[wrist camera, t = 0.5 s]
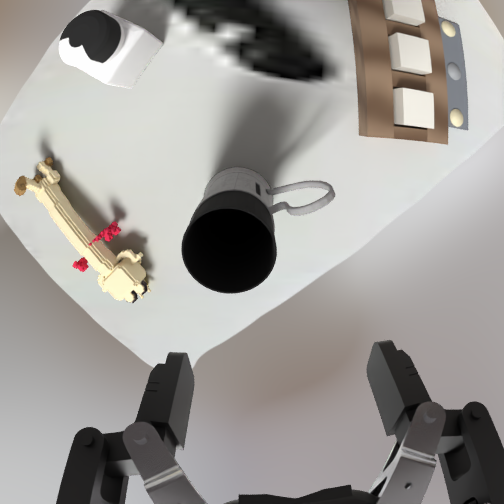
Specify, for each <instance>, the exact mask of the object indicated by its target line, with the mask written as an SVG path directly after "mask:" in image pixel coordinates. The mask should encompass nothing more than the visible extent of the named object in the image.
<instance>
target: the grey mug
mask: <svg viewBox="0 0 504 504" xmlns="http://www.w3.org/2000/svg"><path fill="white" fill-rule="evenodd" d="M303 188H322V189H326V190H328V191H329V192H328V193H327V194H326V195H325V196H324V197H322V198H320V199H319V200H317V201H315V202H313V203H311V204H308V205H305V206H301V207H291V206H289V204H288V203H287V202H280V203H277V204H275V205H273V196H272V195H275V194H279V193H284V192H288V191H292V190H297V189H303ZM334 197H335V192H334V190H333V188H332V186H331V185H330V184H328V183H327V182H323V181H304V182H299V183H294V184H289V185H285V186H281V187H277V188H273V189H270V186H269V185H268V183H267V181H266V180H265V179H264V178H263V177H262V176H261V175H260V174H258V173H257V172H255V171H253V170H251V169H247V168H242V167H233V168H228V169H225V170H223V171H221V172H219V173H218V174H216V175H215V176H214V177H213V178H212V179H211V180H210V181H209V183H208V184H207V186H206V188H205V192H204V197H203V199H202V201H201V202H200V204H199V205H198V207H197V209H196V210H195V212H194V214H193V216H192V218H191V221H190V224H189V226H188V228H187V230H186V232H185V234H184V236H183V240H182V258H183V261H184V264H185V266H186V268H187V270H188V272H189V273H190V274H191V275H192V277H193V278H194V279H195V280H196V281H198V282H199V283H200V284H202V285H203V286H205V287H206V288H209V289H211V290H213V291H217V292H220V293H240V292H245V291H248V290H251V289H253V288H254V287H256V286H258V285H259V284H261V283H262V282H263V281H264V280H265V279H266V278H267V277H268V276H269V274H270V273H271V271H272V269H273V267H274V264H275V261H276V256H277V247H276V242H275V236H274V232H275V225H274V220H273V215H272V214H273V213H275V212H278V211H280V210H283V209H286V210H287V212H288V213H289V214H291V215H294V216H300V215H305V214H309V213H312V212H315V211H317V210H319V209H321V208H322V207H324V206H326V205H327V204H329V203H330V202H331V201H332V200H333V199H334Z"/></svg>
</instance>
